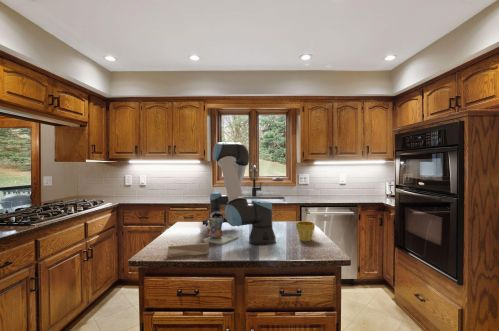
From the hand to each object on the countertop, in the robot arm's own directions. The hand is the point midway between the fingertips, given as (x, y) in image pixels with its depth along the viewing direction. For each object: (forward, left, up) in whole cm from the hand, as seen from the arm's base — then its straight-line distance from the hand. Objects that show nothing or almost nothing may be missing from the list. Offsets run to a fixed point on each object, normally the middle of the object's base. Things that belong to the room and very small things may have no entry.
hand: (220, 224), depth 161 cm
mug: (+4, +1, -8) cm, 9 cm away
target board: (+1, -1, -9) cm, 9 cm away
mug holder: (+4, +22, -9) cm, 24 cm away
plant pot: (-42, -25, -9) cm, 50 cm away
